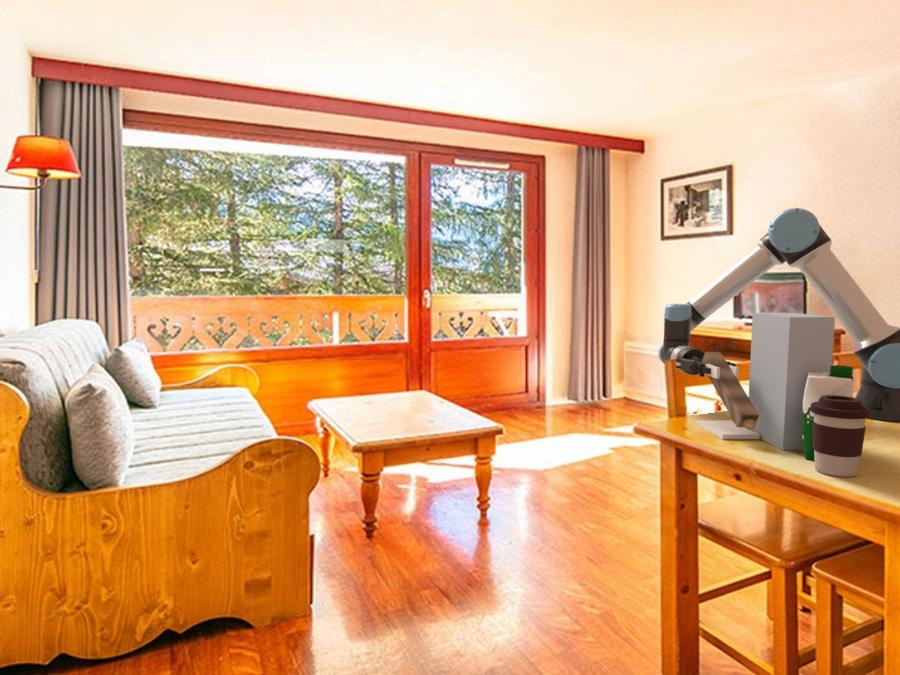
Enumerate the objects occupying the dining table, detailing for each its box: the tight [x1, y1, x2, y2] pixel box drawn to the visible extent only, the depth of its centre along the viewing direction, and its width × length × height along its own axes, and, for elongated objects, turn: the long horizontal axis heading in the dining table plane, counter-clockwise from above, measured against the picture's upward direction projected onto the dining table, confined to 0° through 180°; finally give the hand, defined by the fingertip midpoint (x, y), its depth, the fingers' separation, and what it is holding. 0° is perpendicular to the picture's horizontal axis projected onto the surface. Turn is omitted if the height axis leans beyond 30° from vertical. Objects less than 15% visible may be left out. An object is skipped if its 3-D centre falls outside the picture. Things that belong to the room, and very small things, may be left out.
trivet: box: [697, 419, 761, 440], centre depth 153 cm, size 14×9×1 cm, turn 1°
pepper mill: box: [702, 351, 759, 430], centre depth 151 cm, size 26×4×4 cm
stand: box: [748, 312, 836, 451], centre depth 144 cm, size 16×10×30 cm, turn 1°
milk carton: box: [802, 364, 854, 461], centre depth 131 cm, size 9×9×20 cm
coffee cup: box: [810, 395, 870, 478], centre depth 121 cm, size 10×10×15 cm
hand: (727, 373), depth 152 cm, fingers closed on pepper mill, 4 cm apart
